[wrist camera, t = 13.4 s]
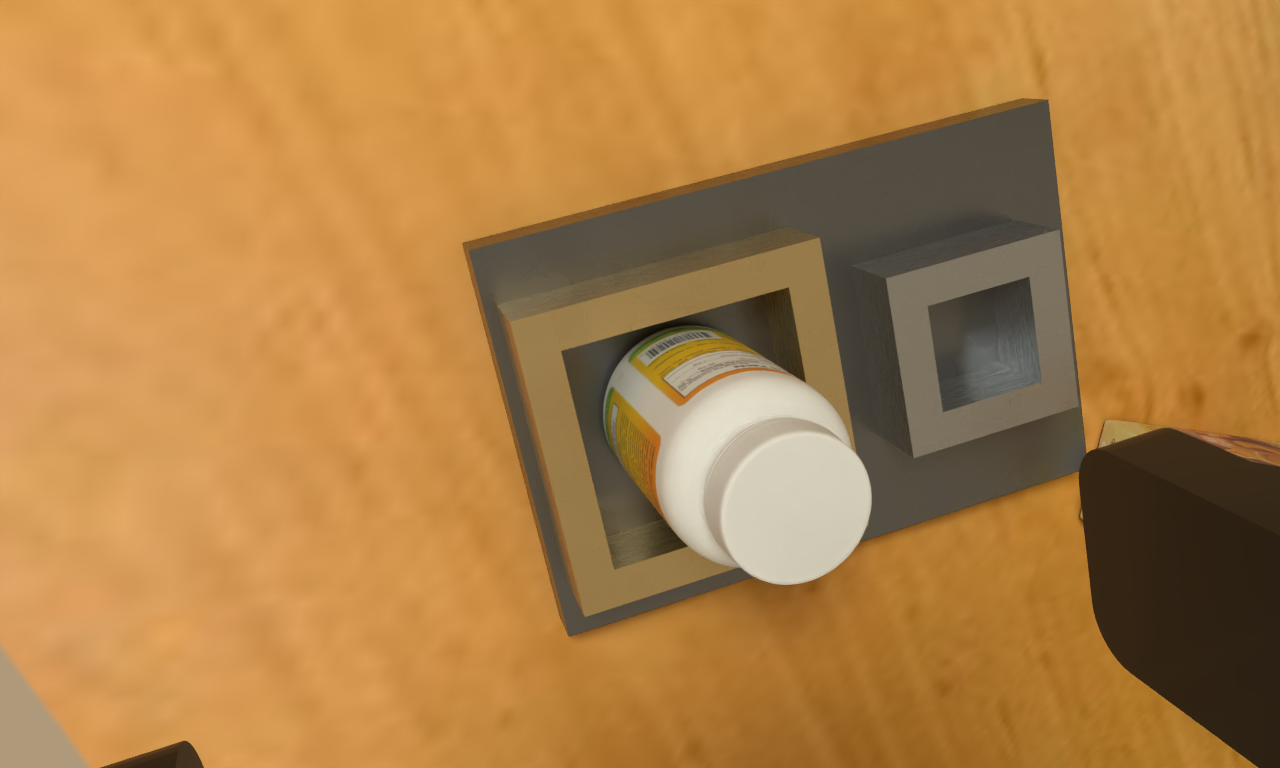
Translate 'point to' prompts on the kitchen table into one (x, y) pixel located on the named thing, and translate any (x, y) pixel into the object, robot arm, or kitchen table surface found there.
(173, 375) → the kitchen table surface
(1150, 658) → the robot arm
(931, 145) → the fitting plate
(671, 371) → the supplement bottle
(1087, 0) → the kitchen table surface
